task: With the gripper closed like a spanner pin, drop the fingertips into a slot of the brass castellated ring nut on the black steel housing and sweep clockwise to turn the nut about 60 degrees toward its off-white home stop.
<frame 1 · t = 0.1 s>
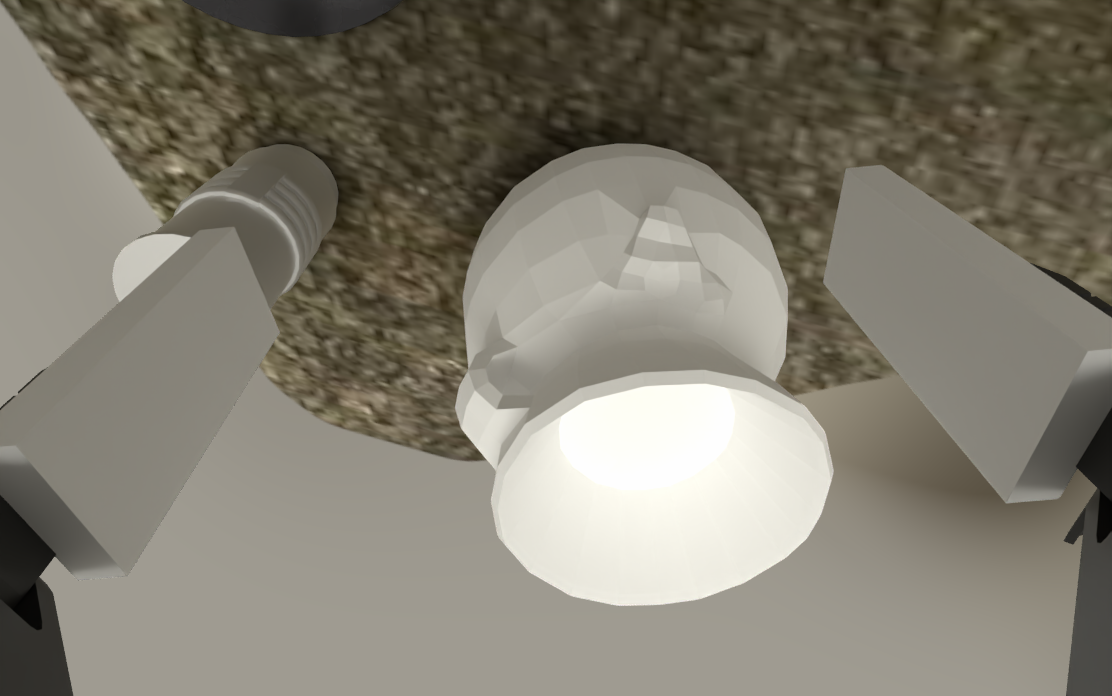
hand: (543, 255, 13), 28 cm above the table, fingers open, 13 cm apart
pitcher: (603, 238, 44), on the table
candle: (294, 186, 41), on the table
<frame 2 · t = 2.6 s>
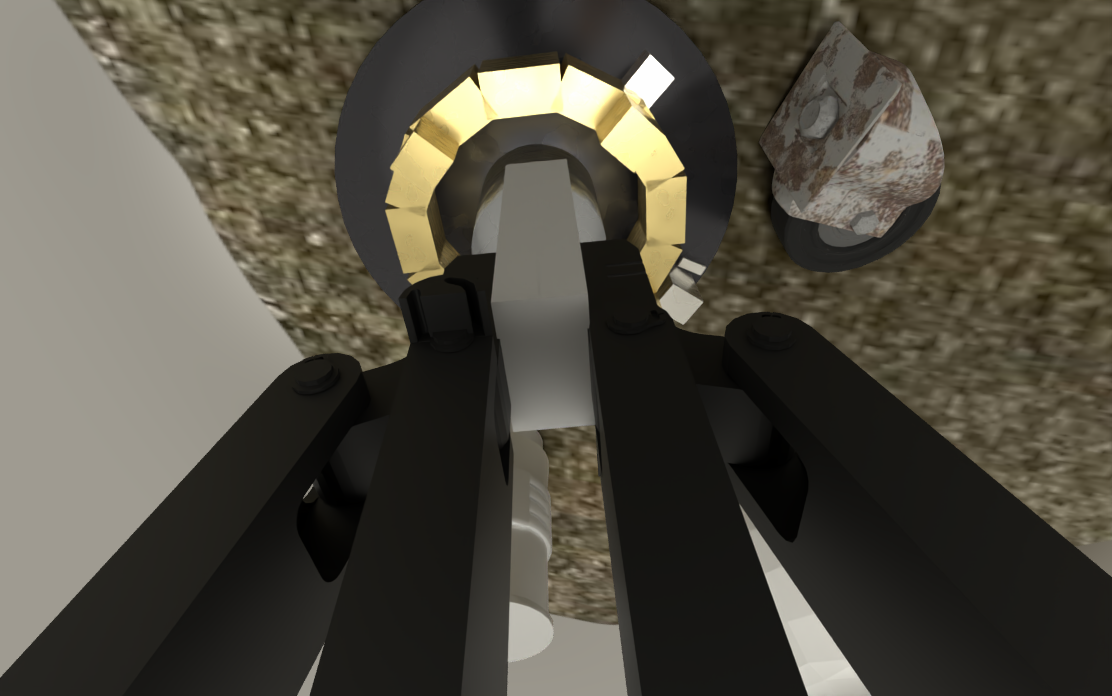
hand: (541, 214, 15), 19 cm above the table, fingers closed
housing: (538, 192, 34), on the table
pitcher: (767, 470, 49), on the table
ring nut: (538, 224, 30), point 5 cm above the table, hinge at 0.0°
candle: (505, 443, 46), on the table
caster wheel: (837, 157, 34), on the table
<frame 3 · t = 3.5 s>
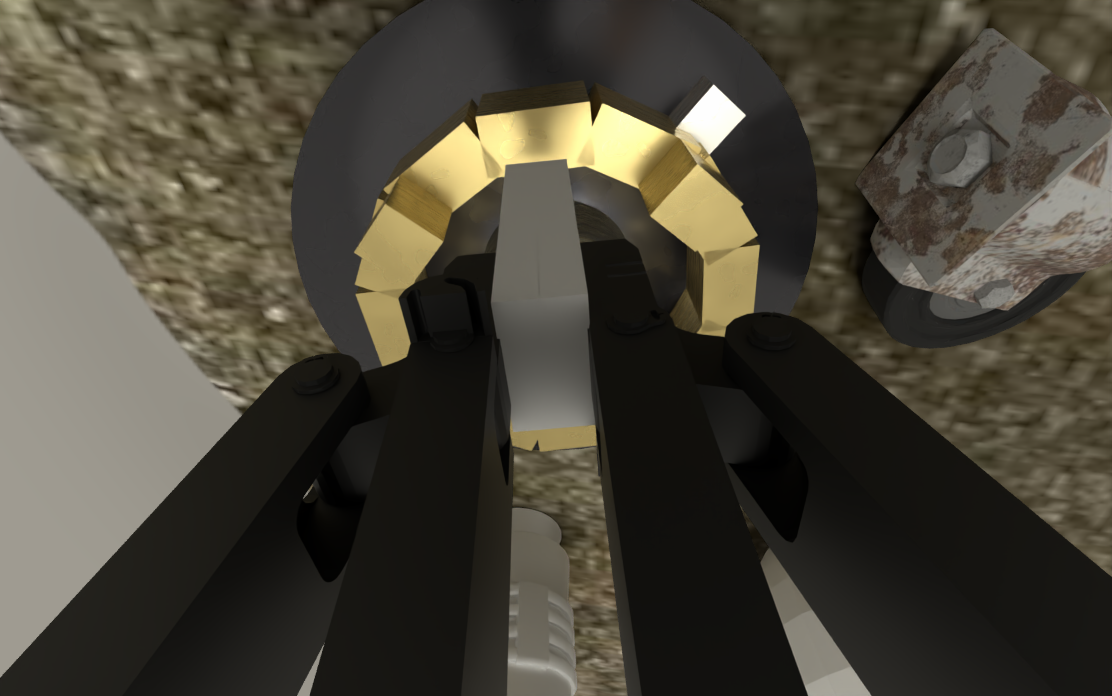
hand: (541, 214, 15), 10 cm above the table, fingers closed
housing: (556, 253, 27), on the table
pitcher: (826, 556, 41), on the table
ring nut: (559, 307, 23), point 5 cm above the table, hinge at 0.0°
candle: (516, 534, 39), on the table
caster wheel: (951, 204, 26), on the table
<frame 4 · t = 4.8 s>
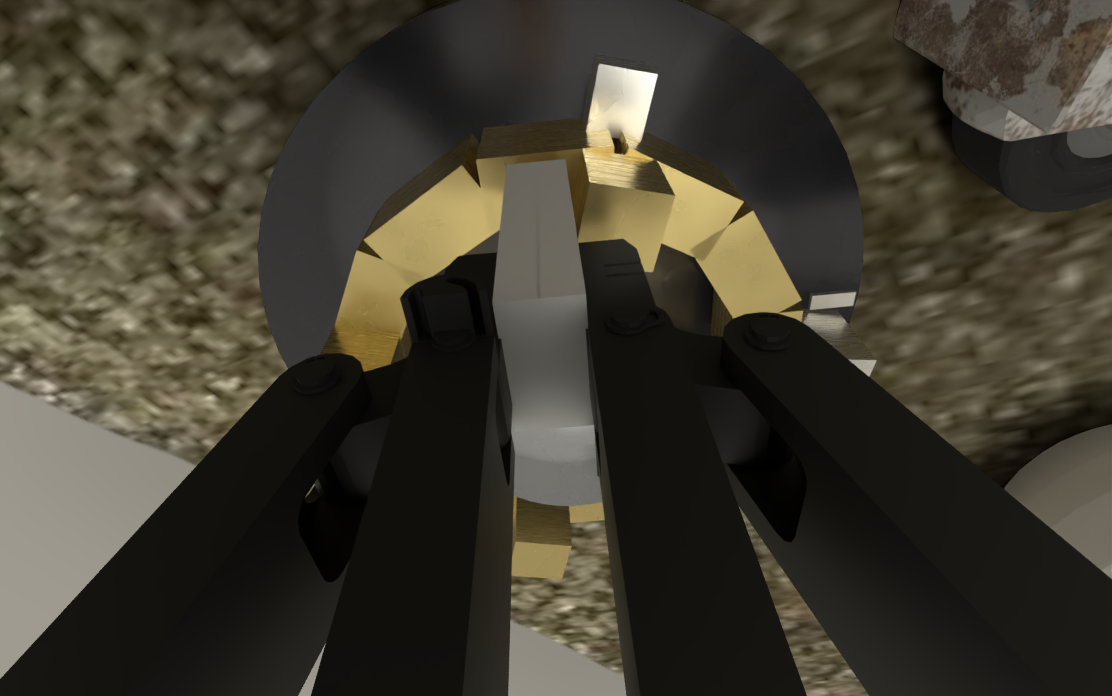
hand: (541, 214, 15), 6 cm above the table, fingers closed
housing: (562, 303, 24), on the table
pitcher: (1089, 485, 31), on the table
ring nut: (567, 373, 20), point 5 cm above the table, hinge at 0.0°, touching gripper
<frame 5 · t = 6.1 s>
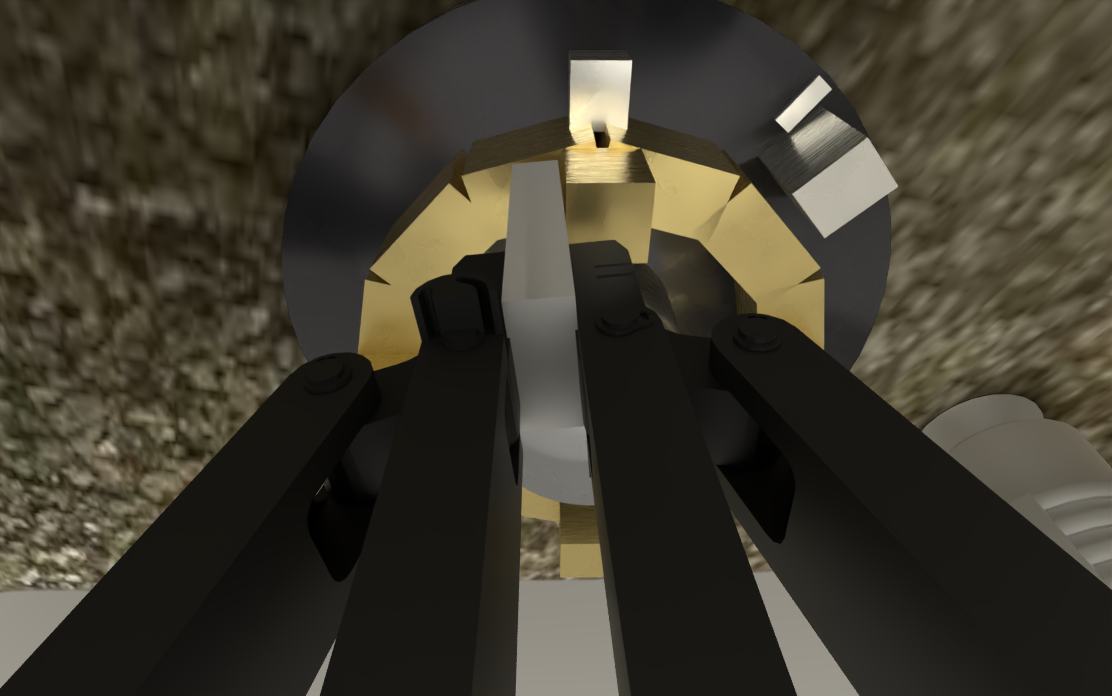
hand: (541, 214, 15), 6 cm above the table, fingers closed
housing: (583, 301, 23), on the table
ring nut: (590, 372, 20), point 5 cm above the table, hinge at -36.6°, touching gripper
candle: (972, 437, 28), on the table
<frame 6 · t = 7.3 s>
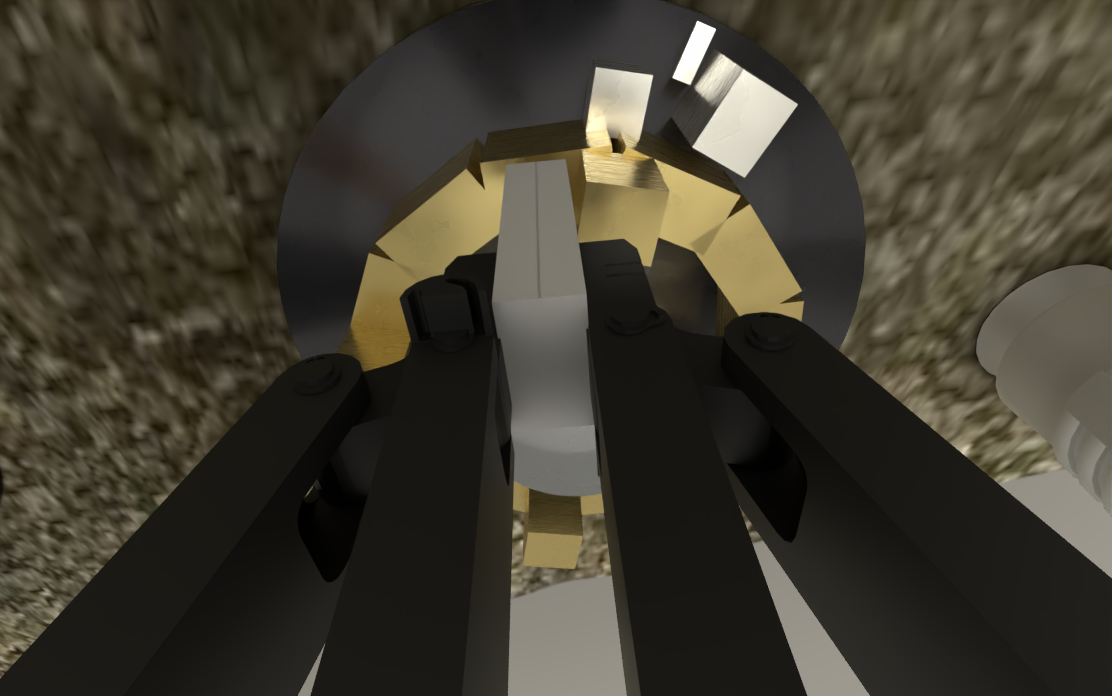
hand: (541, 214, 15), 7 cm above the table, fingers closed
housing: (570, 300, 24), on the table
ring nut: (575, 367, 20), point 5 cm above the table, hinge at -62.5°, touching gripper
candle: (1045, 323, 25), on the table
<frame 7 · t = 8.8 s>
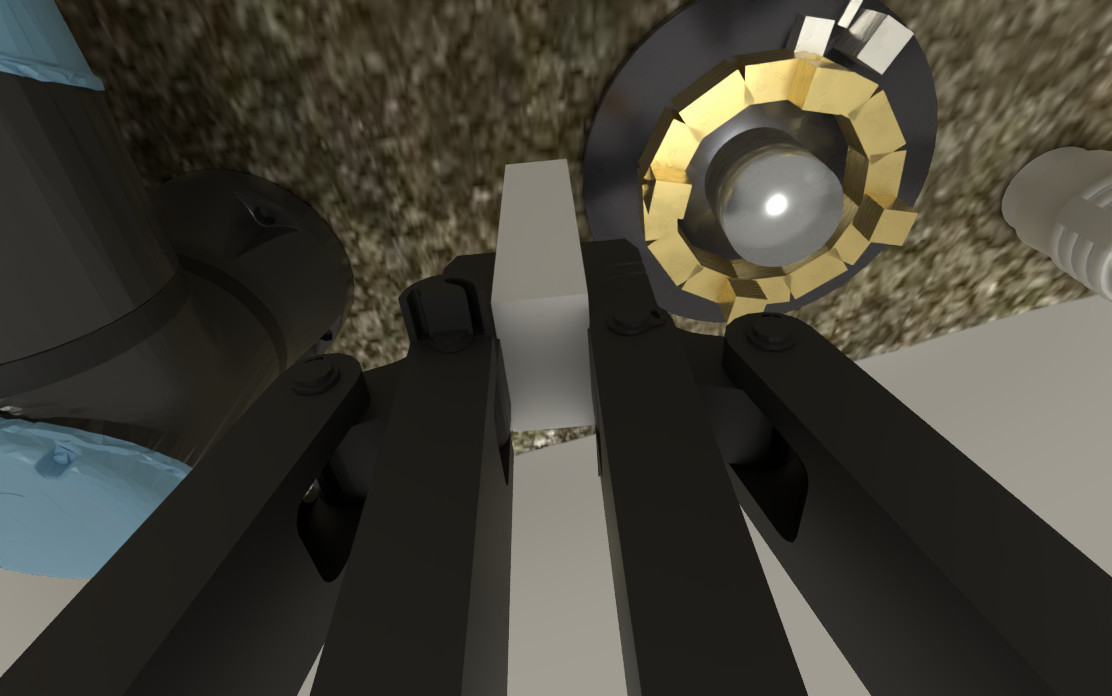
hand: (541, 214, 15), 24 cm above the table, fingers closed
housing: (748, 170, 39), on the table
ring nut: (768, 196, 35), point 5 cm above the table, hinge at -62.5°
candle: (1046, 189, 40), on the table
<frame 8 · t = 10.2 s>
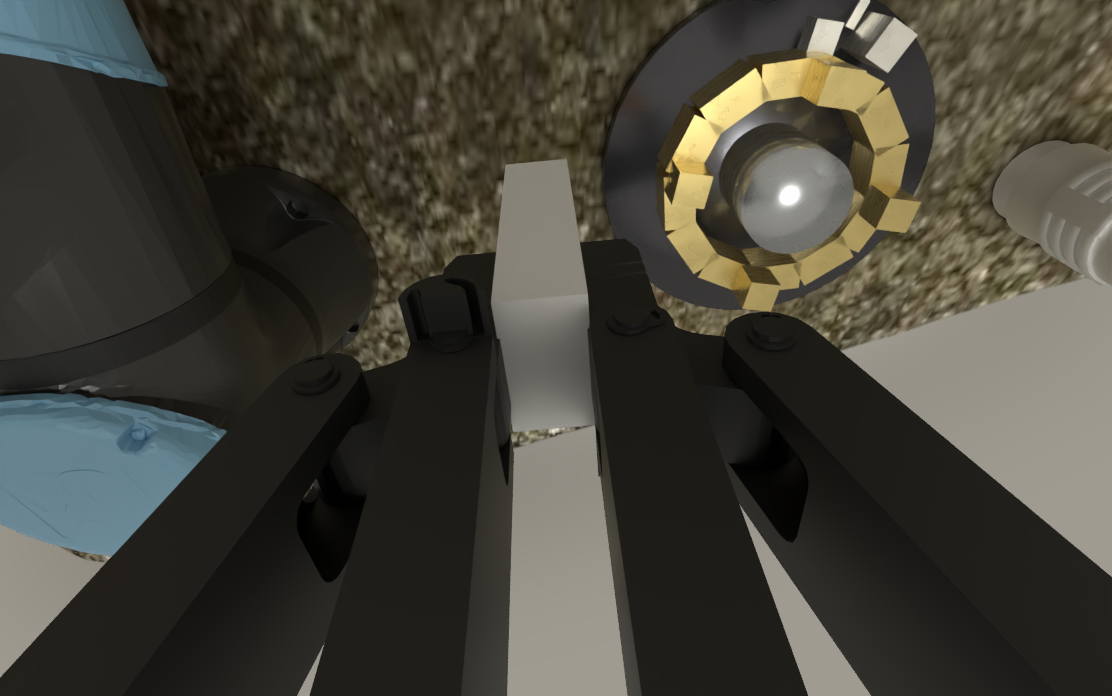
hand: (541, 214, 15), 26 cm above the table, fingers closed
housing: (758, 164, 41), on the table
ring nut: (781, 187, 38), point 5 cm above the table, hinge at -62.5°
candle: (1033, 180, 43), on the table
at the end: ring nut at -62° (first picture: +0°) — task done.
